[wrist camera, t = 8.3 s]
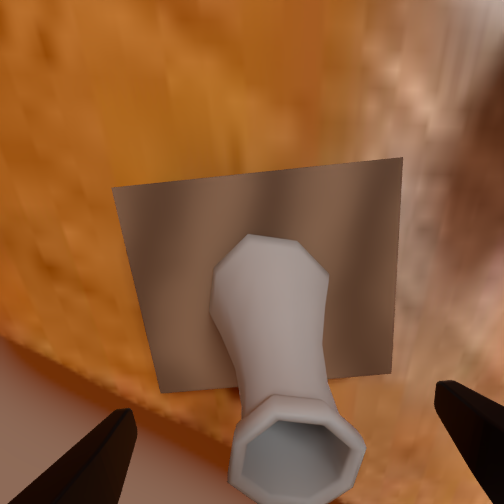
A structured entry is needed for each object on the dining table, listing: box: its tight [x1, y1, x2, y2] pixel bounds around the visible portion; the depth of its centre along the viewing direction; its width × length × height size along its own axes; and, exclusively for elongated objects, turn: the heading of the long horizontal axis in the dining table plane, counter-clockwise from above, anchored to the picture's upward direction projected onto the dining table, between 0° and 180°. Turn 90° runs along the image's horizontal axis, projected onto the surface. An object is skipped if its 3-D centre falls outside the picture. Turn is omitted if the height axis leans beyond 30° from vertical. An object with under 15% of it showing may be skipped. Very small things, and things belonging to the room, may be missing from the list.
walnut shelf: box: [112, 157, 403, 393], centre depth 17 cm, size 16×14×4 cm
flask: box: [209, 234, 366, 504], centre depth 11 cm, size 7×7×10 cm
